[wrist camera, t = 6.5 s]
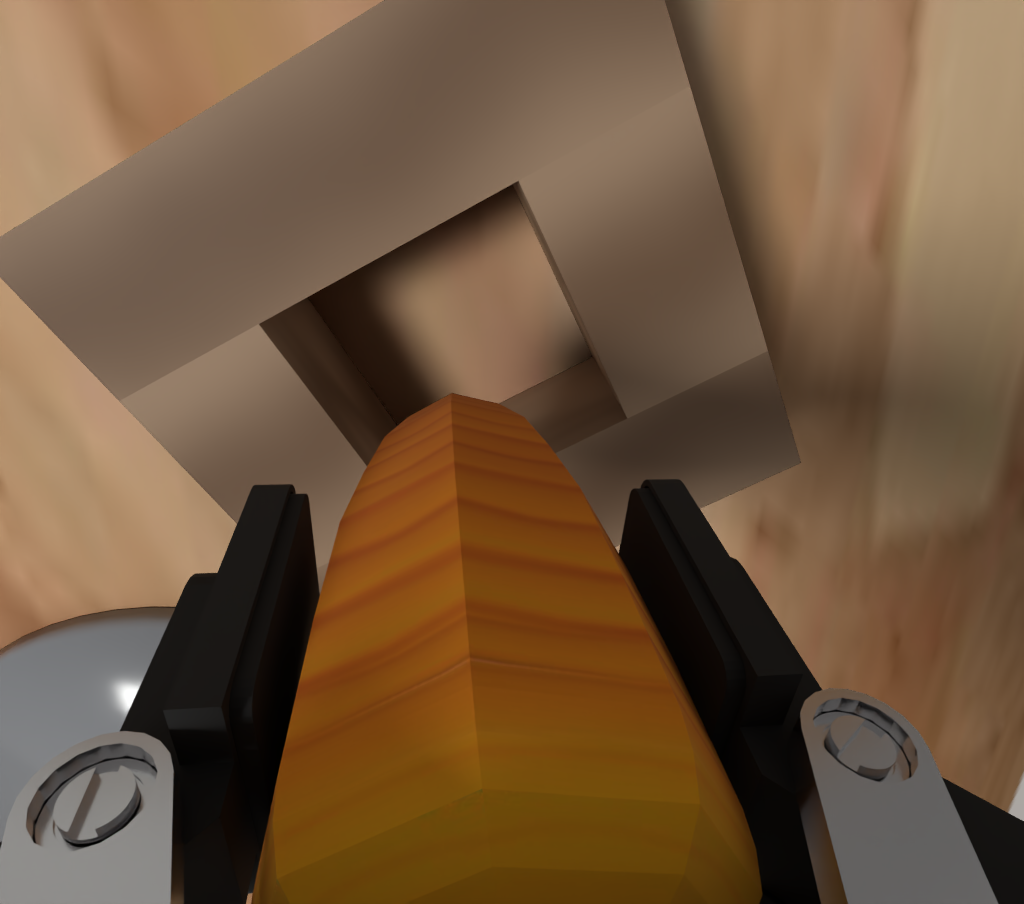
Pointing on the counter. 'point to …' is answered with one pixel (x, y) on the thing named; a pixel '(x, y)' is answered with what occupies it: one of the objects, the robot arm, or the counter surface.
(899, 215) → the counter surface
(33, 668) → the plate
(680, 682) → the carrot
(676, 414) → the pocket block
